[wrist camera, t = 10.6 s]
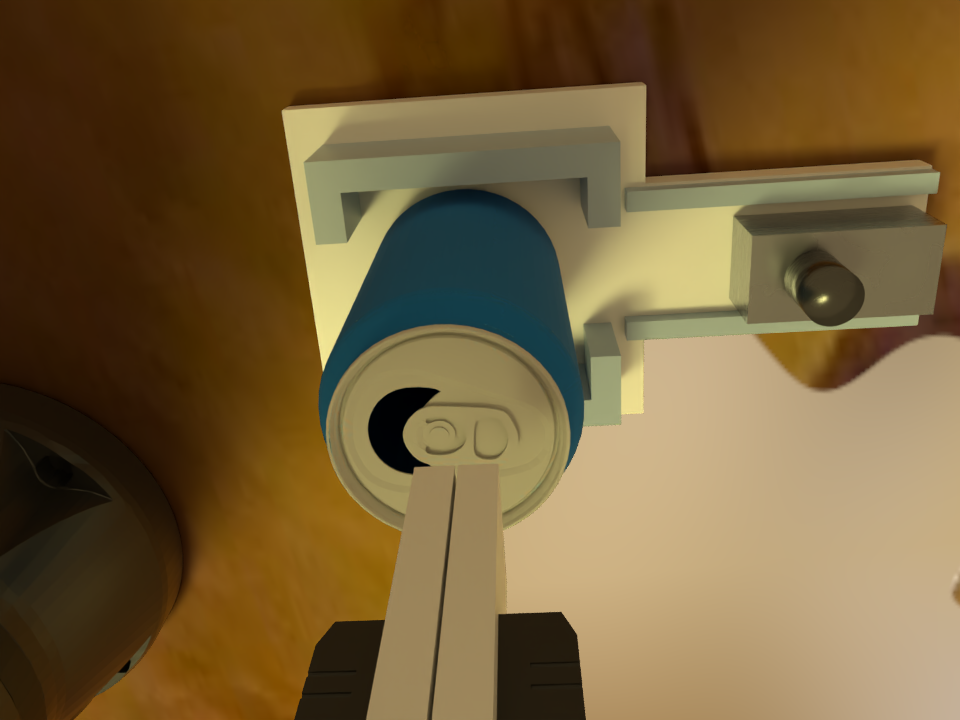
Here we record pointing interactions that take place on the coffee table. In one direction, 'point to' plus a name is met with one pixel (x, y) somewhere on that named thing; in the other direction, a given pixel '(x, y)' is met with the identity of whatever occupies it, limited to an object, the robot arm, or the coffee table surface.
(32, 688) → the robot arm
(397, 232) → the beverage can
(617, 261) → the dock station
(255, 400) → the coffee table surface
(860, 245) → the bar
